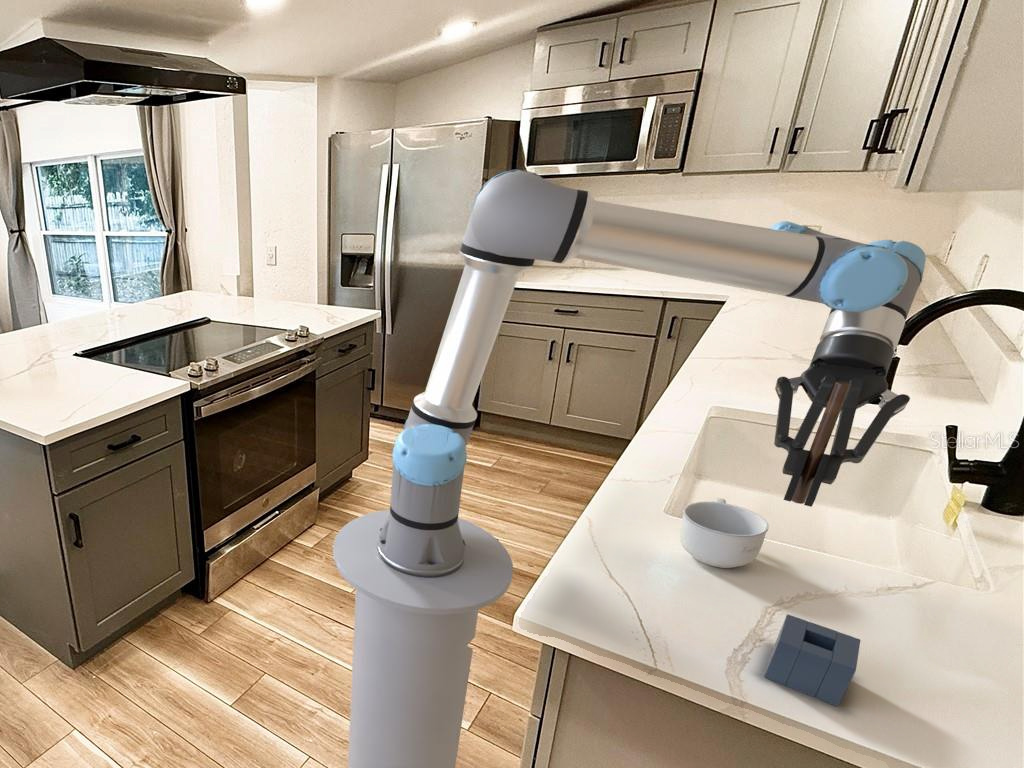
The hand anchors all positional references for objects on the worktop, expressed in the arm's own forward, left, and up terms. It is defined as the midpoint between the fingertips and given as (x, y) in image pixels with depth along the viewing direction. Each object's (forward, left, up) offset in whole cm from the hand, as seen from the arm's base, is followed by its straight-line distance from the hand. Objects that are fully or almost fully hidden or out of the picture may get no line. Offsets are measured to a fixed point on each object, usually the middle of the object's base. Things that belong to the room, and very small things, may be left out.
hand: (798, 499), depth 79 cm
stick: (0, +4, -2) cm, 5 cm away
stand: (+6, -8, -20) cm, 23 cm away
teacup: (-8, +17, -21) cm, 28 cm away
